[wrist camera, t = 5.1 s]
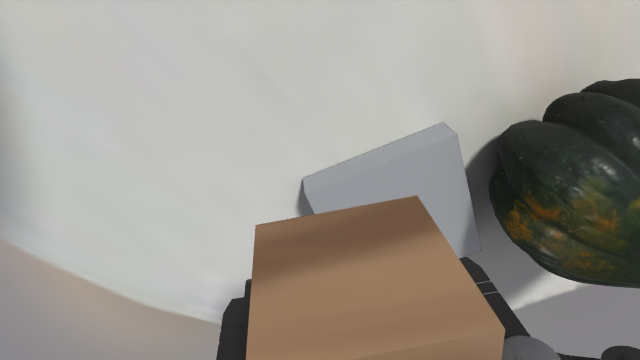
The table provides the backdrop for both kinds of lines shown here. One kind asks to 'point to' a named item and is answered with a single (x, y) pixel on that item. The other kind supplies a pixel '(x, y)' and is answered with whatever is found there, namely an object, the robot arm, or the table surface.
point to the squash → (576, 185)
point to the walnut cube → (365, 290)
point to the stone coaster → (405, 183)
